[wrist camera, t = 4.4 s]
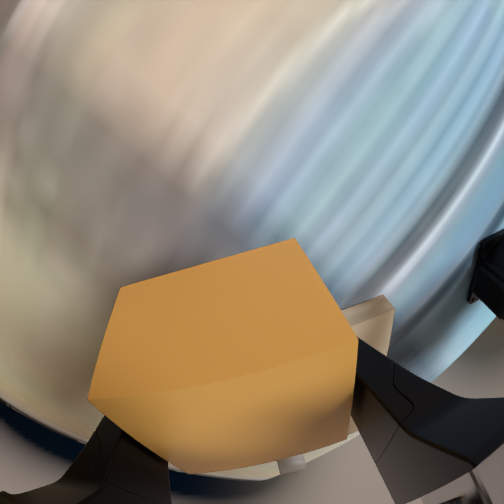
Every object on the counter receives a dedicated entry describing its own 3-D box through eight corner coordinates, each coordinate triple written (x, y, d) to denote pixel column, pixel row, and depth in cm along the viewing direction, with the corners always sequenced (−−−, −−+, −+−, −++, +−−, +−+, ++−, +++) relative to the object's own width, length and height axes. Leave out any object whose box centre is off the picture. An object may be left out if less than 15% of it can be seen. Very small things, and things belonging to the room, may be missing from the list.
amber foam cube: (294, 237, 9) (358, 339, 5) (312, 354, 12) (346, 439, 8) (120, 287, 9) (87, 399, 5) (185, 386, 12) (188, 474, 8)
